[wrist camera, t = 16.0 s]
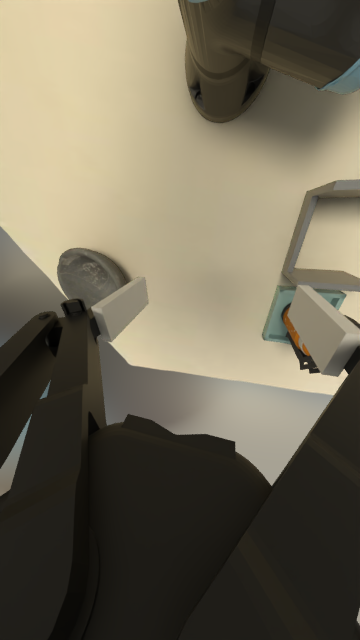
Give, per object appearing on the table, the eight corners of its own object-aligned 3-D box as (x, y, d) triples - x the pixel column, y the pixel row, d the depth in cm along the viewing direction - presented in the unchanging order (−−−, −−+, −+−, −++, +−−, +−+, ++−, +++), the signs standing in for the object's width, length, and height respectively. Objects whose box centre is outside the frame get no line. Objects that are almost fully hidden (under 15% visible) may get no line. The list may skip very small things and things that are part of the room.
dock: (306, 191, 36) (336, 180, 26) (383, 189, 33) (450, 175, 23) (281, 272, 45) (296, 286, 35) (340, 275, 42) (374, 292, 32)
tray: (277, 285, 47) (280, 289, 44) (339, 290, 44) (346, 294, 41) (262, 334, 56) (263, 340, 53) (313, 341, 53) (317, 347, 50)
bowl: (81, 296, 67) (60, 307, 59) (75, 236, 55) (47, 239, 46) (134, 315, 65) (120, 329, 57) (139, 257, 53) (123, 264, 44)
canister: (324, 305, 46) (379, 354, 29) (297, 335, 52) (329, 388, 36) (293, 293, 46) (330, 334, 30) (270, 324, 53) (289, 372, 36)
